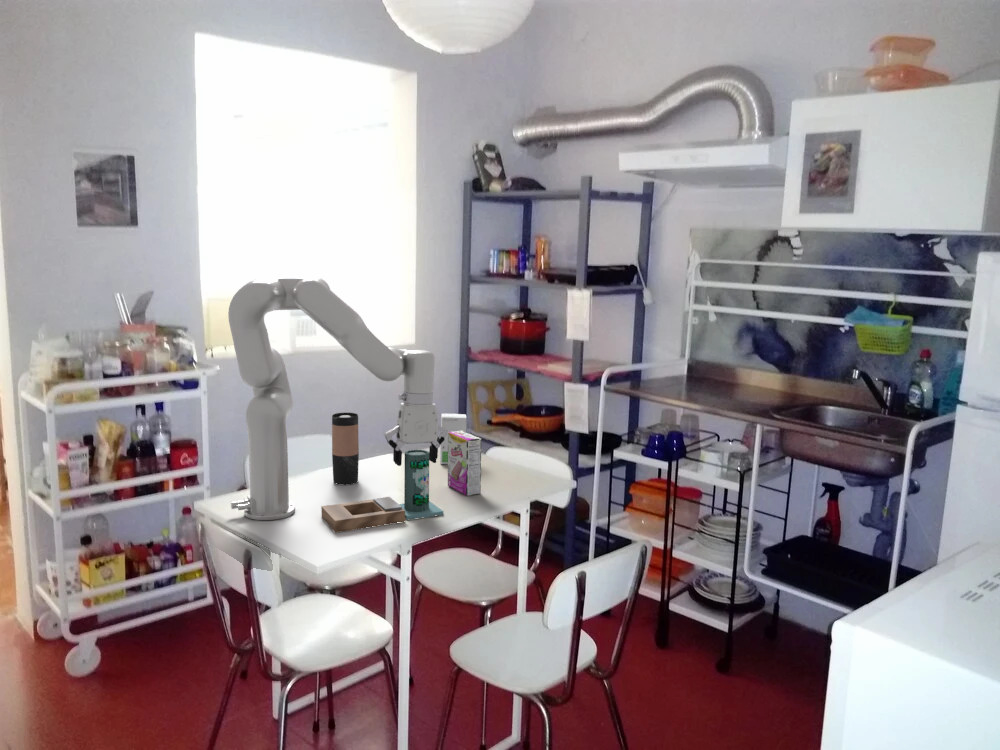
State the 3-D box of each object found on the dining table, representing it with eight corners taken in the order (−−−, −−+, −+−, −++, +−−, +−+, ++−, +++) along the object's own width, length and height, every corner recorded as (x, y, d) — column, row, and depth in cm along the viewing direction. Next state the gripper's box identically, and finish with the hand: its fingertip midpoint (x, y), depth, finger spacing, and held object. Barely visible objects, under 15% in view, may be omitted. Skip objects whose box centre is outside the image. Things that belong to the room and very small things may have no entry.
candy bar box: (446, 486, 229) (447, 431, 226) (461, 484, 232) (462, 429, 229) (466, 497, 220) (467, 439, 217) (481, 494, 222) (482, 437, 220)
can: (420, 513, 202) (421, 456, 200) (400, 509, 205) (400, 453, 202) (432, 506, 207) (433, 451, 205) (412, 503, 210) (413, 448, 208)
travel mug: (361, 478, 235) (360, 412, 232) (356, 485, 228) (355, 418, 225) (335, 477, 235) (335, 412, 232) (329, 484, 228) (328, 417, 225)
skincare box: (440, 464, 252) (440, 417, 250) (439, 459, 258) (440, 413, 256) (466, 464, 253) (466, 417, 250) (465, 459, 259) (466, 413, 257)
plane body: (335, 532, 190) (335, 518, 189) (321, 517, 200) (321, 503, 200) (405, 522, 198) (405, 508, 198) (388, 508, 209) (388, 495, 208)
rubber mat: (407, 520, 200) (407, 516, 199) (393, 508, 208) (393, 505, 208) (443, 514, 204) (443, 511, 204) (428, 503, 213) (428, 500, 213)
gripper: (391, 402, 194) (388, 469, 197) (454, 399, 202) (451, 464, 205) (381, 396, 201) (378, 461, 203) (443, 394, 209) (440, 457, 212)
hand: (415, 463), depth 204 cm, fingers open, 9 cm apart
